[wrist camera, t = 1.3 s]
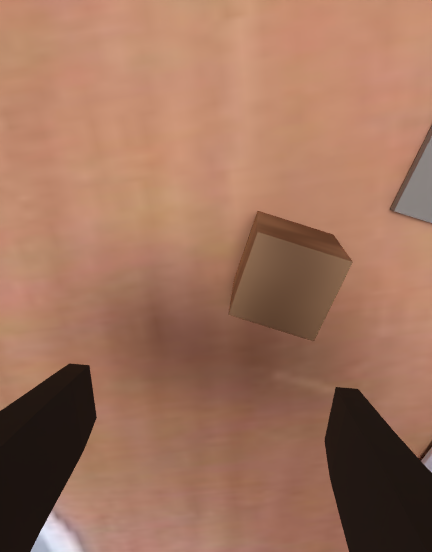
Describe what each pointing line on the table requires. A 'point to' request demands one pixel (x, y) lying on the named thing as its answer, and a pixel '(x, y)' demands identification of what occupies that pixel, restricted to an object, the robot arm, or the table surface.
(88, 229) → the table surface
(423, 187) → the pocket board
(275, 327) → the walnut block
